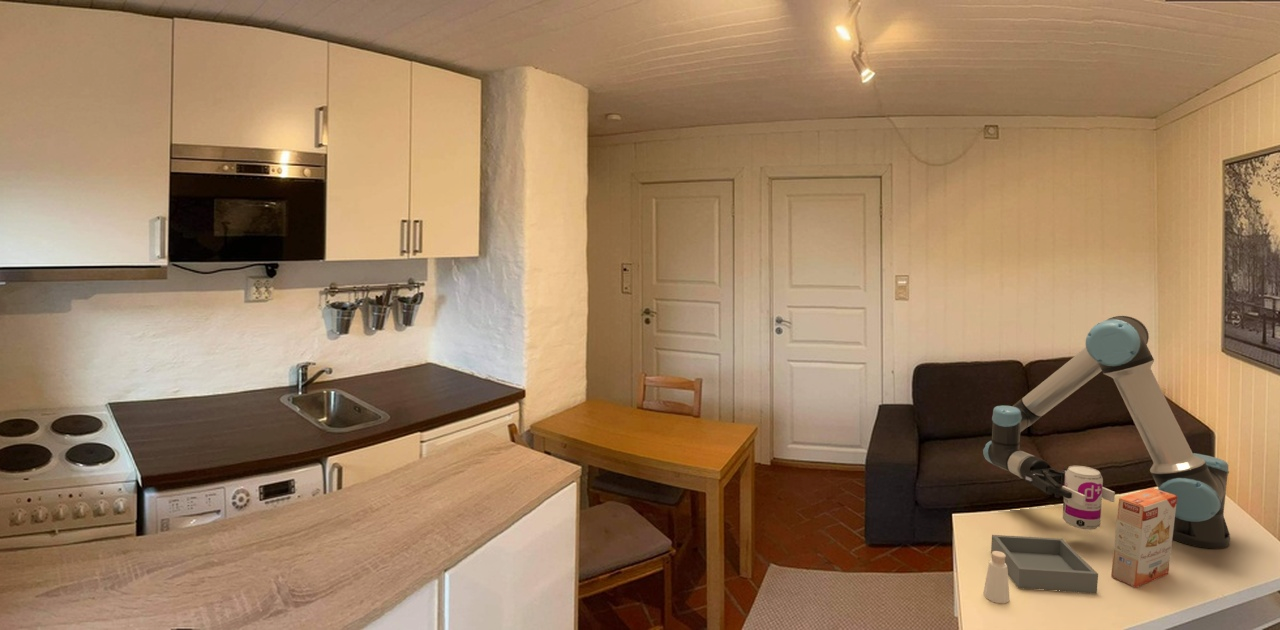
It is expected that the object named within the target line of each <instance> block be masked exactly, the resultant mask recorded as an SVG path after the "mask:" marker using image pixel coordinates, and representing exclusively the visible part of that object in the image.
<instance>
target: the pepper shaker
mask: <svg viewBox="0 0 1280 630" xmlns="http://www.w3.org/2000/svg"><path fill="white" fill-rule="evenodd" d="M1005 557H1006V555H1005V554H1004V553H1002V552H1000V551H993V552H992V553H991V560H989V562H988V566H987V571H986V576H985V577H986V578H985V581H984V587H983V588H984V589H983V595H984V597H985V599H987V600H989V601H990V602H992V603H996V604H1002V605H1003V604H1004V605H1005V604H1007V603H1008V602H1010V600H1011V599H1010V586H1009V584H1010V583H1009V576H1008V568H1007V565H1006V563H1005Z"/></svg>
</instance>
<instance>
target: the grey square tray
mask: <svg viewBox="0 0 1280 630" xmlns="http://www.w3.org/2000/svg"><path fill="white" fill-rule="evenodd" d="M990 548H991V549H990V553H991V554H992V552H993V551H1000V552H1002V553H1004V554H1005V555H1006V557H1005V563H1006V565H1007V568H1008V578H1009V579H1010V580H1012V582H1013V584H1014V585H1015V586H1016V587H1017V589H1020V590H1021V589H1022V590H1023V588H1024V589H1025V590H1034V589H1044V590H1043V591H1049V590H1057V591H1056V592H1063V591H1066V593H1078V592H1079V593H1081V594H1092V595H1093V594H1098V583H1099V573H1098V572H1097V571H1096V570H1095V569H1094V568H1093V567H1092V566H1091V565H1090V564H1089V563H1088V562H1087V561H1085V560H1084V559H1083V557H1082V556H1081V555H1079V553H1077V551H1075V549H1073V548H1072V546H1070V545H1069V544H1068V543H1067V542H1066V541H1065V540H1064V539H1063V538H1058V537H1057V538H1056V537H1041V536H1040V537H1039V536H1038V537H1036V536H1019V535H1005V534H1004V535H1001V534H991V547H990ZM1059 590H1060V591H1059Z"/></svg>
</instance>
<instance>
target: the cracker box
mask: <svg viewBox="0 0 1280 630" xmlns="http://www.w3.org/2000/svg"><path fill="white" fill-rule="evenodd" d="M1176 504H1177V496H1176V495H1173V494H1170V493H1167V492H1164V491H1160V490H1158V489H1156V488H1154V487H1150V488H1146V489H1143V490H1139V491H1137V492H1134V493H1131V494H1128V495H1124V496H1120V497H1119V498H1118V507H1117V515H1116V526H1115V527H1116V528H1115V536H1114V545H1113V553H1112V555H1113V556H1112V565H1111V566H1112V567H1111V578H1114V579H1116V580H1118V581H1120V582H1122V583H1125V584H1127V585H1128V586H1131V587H1134V588H1138V587H1140V586H1143V585H1145V584H1147V583H1150V582H1153V581H1154V580H1157V579H1159V578H1163V577H1165V576H1167V575H1169V571H1170V560H1171V554H1172V545H1173V539H1172V538H1173V529H1174V521H1175V512H1176Z"/></svg>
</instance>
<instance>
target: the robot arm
mask: <svg viewBox="0 0 1280 630" xmlns="http://www.w3.org/2000/svg"><path fill="white" fill-rule="evenodd" d="M1149 339H1150V336H1149V330H1148V328H1147V327H1146V325H1145V324H1144V323H1143V322H1142V321H1140V320H1139V319H1137V318H1134V317H1133V316H1127V315H1117V316H1113V317H1110V318H1108V319H1106V320H1103V321H1101V322H1098V323H1096V324H1095V325H1094V326H1093V327H1092V328H1091V329H1090V330H1089V332H1088V333H1087V335H1086V338H1085V347H1084V348H1083V349H1082V350H1081V351H1079V352H1078V353H1077V354H1076V355H1074V356H1073V357H1072V358H1070V360H1068V361H1067V362H1066V363H1064V364H1063V365H1062V366H1061V367H1059V368H1058V369H1057V370H1056V371H1054V372H1053V373H1052V374H1051V375H1049V376H1048V377H1047V378H1046V379H1044V381H1042V382H1041V383H1040V384H1038V385H1037V386H1036V387H1035V388H1033V389H1032V390H1031V391H1029V392H1028V393H1027V394H1025V396H1023V397H1022V398H1021V399H1019V400H1018V401H1017V402H1016V403H1014V404H1013V405H1012V406H1011V405H997V406H994V407H993V410H992V417H991V421H992V425H991V426H992V427H991V440H989V441H988V442H987V443H986V444H985V446H984V448H983V449H982V452H983V457H984V459H985V460H986V461H987V462H988V463H990V464H992V465H993V466H994V467H996V468H1000V469H1002V470H1004V471H1007V472H1009V473H1010V474H1012V475H1015V476H1017V477H1019V479H1023V480H1024V481H1025V483H1027V484H1031V485H1033V486H1034V487H1036V488H1037V489H1039V490H1040V491H1042V493H1043V492H1044V493H1045V494H1047V495H1048V496H1053V494H1054V498H1056V499H1060V498H1061V497H1063V498H1064V497H1065V498H1067V499H1069V500H1071V501H1073V502H1076V503H1078V504H1080V505H1082V506H1085V499H1086V496H1085V495H1083V494H1081V493H1079V492H1077V491H1074V490H1072V489H1070V488H1068V487H1066V486H1064V484H1065V472H1066V471H1067V470H1068V468H1063V470H1062V471H1061V470H1058V469H1055V468H1052V467H1051V466H1050V464H1049V462H1048V461H1046V460H1044V459H1042V458H1040V457H1037V456H1036V455H1033V454H1031V453H1028V452H1026V451H1023V450H1021V449H1020V446H1021V445H1020V443H1021V432H1023V431H1024V430H1025V429H1027V428H1028V427H1030V426H1032V425H1033V424H1035V423H1036V421H1038V420H1039V419H1040V418H1042V416H1044V415H1046V414H1047V413H1048V412H1049V411H1051V410H1052V409H1053V408H1054V407H1056V406H1058V405H1059V404H1060V403H1061V402H1063V401H1064V400H1066V399H1067V398H1068V397H1070V396H1071V395H1072V394H1073V393H1075V392H1076V391H1077V390H1079V389H1080V388H1081V387H1083V386H1085V384H1087V383H1088V382H1089V381H1090V380H1092V379H1093V378H1095V377H1096V376H1097V375H1099V374H1100V373H1101V372H1102V374H1103V375H1105V376H1108V377H1110V378H1111V379H1113V382H1114V383H1115V385H1116V387H1117V390H1118V391H1119V394H1120V396H1121V398H1122V399H1123V402H1124V405H1125V406H1126V408H1127V411H1128V412H1129V415H1130V417H1131V419H1132V420H1133V424H1134V425H1135V427H1136V429H1137V431H1138V433H1139V435H1140V437H1141V440H1142V442H1143V444H1144V446H1145V448H1146V450H1147V452H1148V454H1149V456H1150V458H1151V460H1152V463H1153V464H1152V465H1151V467H1150V469H1149V471H1150V474H1151V476H1152V478H1153V480H1154V482H1155V485H1156V486H1157V488H1158V489H1157V490H1160V491H1164V492H1167V493H1170V494H1173V495H1176V496H1177V504H1176V512H1175V521H1174V529H1173V538H1172V541H1173V540H1174V541H1176V542H1178V543H1181V544H1185V545H1188V546H1193V547H1198V548H1203V549H1212V550H1215V549H1217V550H1220V549H1225V548H1228V547H1229V546H1230V544H1231V543H1230V542H1231V534H1230V532H1229V528H1228V526H1227V523H1226V518H1225V517H1224V513H1225V504H1226V503H1225V502H1226V493H1227V483H1228V478H1229V477H1228V474H1229V473H1230V471H1229V464H1228V462H1226V461H1225V460H1223V459H1221V458H1219V457H1214V456H1211V455H1206V454H1201V453H1195V452H1194V453H1193V451H1192V449H1191V448H1190V447H1191V446H1190V445H1189V443H1188V441H1187V438H1186V437H1185V435H1184V433H1183V431H1182V428H1181V427H1180V425H1179V423H1178V421H1177V419H1176V416H1175V414H1174V413H1173V411H1172V409H1171V407H1170V405H1169V403H1168V400H1167V398H1166V396H1165V395H1164V392H1163V391H1162V389H1161V387H1160V385H1159V382H1158V381H1157V378H1156V377H1155V375H1154V373H1153V372H1154V371H1152V366H1153V363H1154V362H1155V359H1154V356H1153V355H1152V352H1151V350H1150V349H1149V346H1148V343H1149ZM1115 496H1116V492H1115V491H1113V490H1111V489H1109V488H1106V487H1104V486H1102V499H1104V500H1106V501H1107V502H1108V501H1109V502H1111V503H1115V499H1116V498H1115Z"/></svg>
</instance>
